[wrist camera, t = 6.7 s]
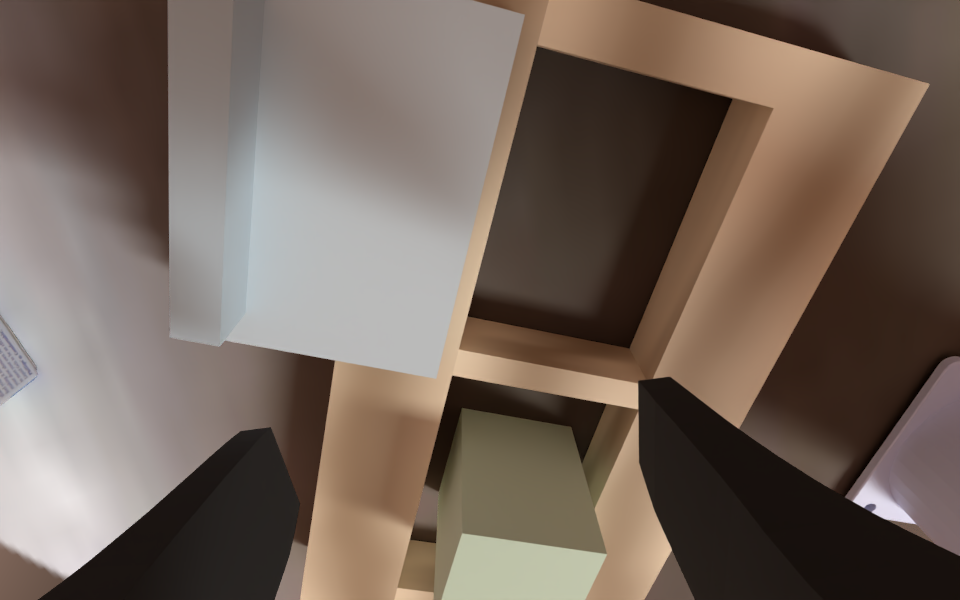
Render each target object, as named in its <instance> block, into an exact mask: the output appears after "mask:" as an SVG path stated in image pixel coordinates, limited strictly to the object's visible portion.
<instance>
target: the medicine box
mask: <svg viewBox="0 0 960 600" xmlns="http://www.w3.org/2000/svg"><path fill="white" fill-rule="evenodd" d="M37 375H38V373H37V367H36V366H35V364H34V363H33V361H32V360H31V358H30V357H29V356H28V354H27V353H26V351H25V350H24V348H23V347H22V345H21V344H20V342H19V341H18V339H17V338H16V336H15V335H14V333H13V332H12V330H11V329H10V328H9V326H8V325H7V323H6V322H5V321H4V319H3V318H2V317H1V315H0V406H1V405H2V404H3V403H5V402H6V401H7V400H9V399H10V398H11V397H12V396H14V395H15V394H16V393H17V392H19V391H20V390H21V389H23V388H24V387H25V386H26V385H28V384H29V383H30V382H31V381H33V380H34V379H35V378H36V377H37Z"/></svg>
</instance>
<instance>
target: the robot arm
mask: <svg viewBox="0 0 960 600" xmlns="http://www.w3.org/2000/svg"><path fill="white" fill-rule="evenodd" d="M638 418H639V464H640V467H641V471H642V474H643V477H644V480H645V483H646V487H647V490H648V493H649V496H650V499H651V502H652V505H653V508H654V511H655V513H656V515H657V518H658V520H659V522H660V524H661V527H662V529H663V531H664V533H665V535H666V538H667V540H668V542H669V544H670V546H671V549H672V551H673V553H674V555H675V557H676V560H677V562H678V564H679V566H680V568H681V570H682V573H683V575H684V577H685V579H686V581H687V583H688V586H689V588H690V590H691V592H692V594H693V596H694V599H695V600H960V357H958V356H952V357H949V358H946V359H944V360H943V361H941V362H940V364H939V365H938V366H937V367H936V369H935V370H934V372H933V373H932V375H931V376H930V377H929V379H928V380H927V382H926V383H925V384H924V386H923V387H922V389H921V390H920V392H919V393H918V394H917V396H916V397H915V399H914V400H913V401H912V403H911V404H910V406H909V407H908V409H907V410H906V411H905V413H904V414H903V416H902V417H901V418H900V420H899V421H898V423H897V424H896V426H895V427H894V428H893V430H892V431H891V433H890V434H889V435H888V437H887V438H886V440H885V441H884V443H883V444H882V445H881V447H880V448H879V450H878V451H877V452H876V454H875V455H874V457H873V458H872V460H871V461H870V462H869V464H868V465H867V467H866V468H865V469H864V471H863V472H862V474H861V475H860V477H859V478H858V479H857V481H856V482H855V484H854V485H853V486H852V488H851V489H850V491H849V492H848V494H847V495H846V496H845V497H844V496H842V495H840V494H838V493H836V492H835V491H833V490H831V489H829V488H828V487H826V486H824V485H823V484H821V483H819V482H818V481H816V480H814V479H813V478H811V477H810V476H808V475H806V474H805V473H803V472H802V471H800V470H799V469H797V468H796V467H794V466H792V465H791V464H789V463H788V462H786V461H785V460H783V459H781V458H780V457H778V456H777V455H775V454H774V453H772V452H771V451H769V450H768V449H767V448H765V447H764V446H762V445H761V444H759V443H758V442H756V441H755V440H754V439H752V438H751V437H749V436H748V435H747V434H745V433H744V432H742V431H741V430H740V429H738V428H737V427H735V426H734V425H733V424H731V423H730V422H729V421H727V420H726V419H725V418H723V417H722V416H721V415H719V414H718V413H717V412H715V411H714V410H713V409H711V408H710V407H709V406H708V405H706V404H705V403H704V402H702V401H701V400H700V399H699V398H697V397H696V396H695V395H693V394H692V393H691V392H689V391H688V390H687V389H686V388H684V387H683V386H682V385H681V384H679V383H678V382H677V381H675V380H674V379H673V378H671V377H663V378H655V379H647V380H640V381H638ZM299 506H300V503H299V500H298V497H297V495H296V492H295V490H294V487H293V484H292V482H291V479H290V476H289V474H288V471H287V469H286V466H285V463H284V461H283V458H282V455H281V453H280V450H279V448H278V445H277V442H276V440H275V437H274V434H273V432H272V429H271V427H270V428H262V429H254V430H246V431H240V432H239V433H238V434H237V435H235V436H234V437H233V438H231V439H230V440H229V441H228V442H227V443H225V444H224V445H223V446H222V447H221V448H220V449H218V450H217V451H216V452H215V453H214V454H213V455H212V456H211V457H209V458H208V459H207V460H206V461H205V462H204V463H203V464H202V465H200V466H199V467H198V468H197V469H196V470H195V471H194V472H193V473H192V474H190V475H189V476H188V477H187V478H186V479H185V480H184V481H183V482H181V483H180V484H179V485H178V486H177V487H176V488H175V489H174V490H172V491H171V492H170V493H169V494H168V495H167V496H166V497H165V498H164V499H162V500H161V501H160V502H159V503H158V504H157V505H156V506H155V507H153V508H152V509H151V510H150V511H149V512H148V513H146V514H145V515H144V516H143V517H142V518H141V519H139V520H138V521H137V522H136V523H135V524H133V525H132V526H131V527H130V528H129V529H127V530H126V531H125V532H124V533H123V534H121V535H120V536H119V537H118V538H117V539H115V540H114V541H113V542H112V543H111V544H109V545H108V546H107V547H106V548H105V549H103V550H102V551H101V552H100V553H99V554H97V555H96V556H95V557H94V558H92V559H91V560H90V561H89V562H87V563H86V564H85V565H84V566H82V567H81V568H80V569H78V570H77V571H76V572H75V573H73V574H72V575H71V576H69V577H68V578H67V579H65V580H64V581H63V582H62V583H60V584H59V585H57V586H56V587H55V588H53V589H52V590H51V591H50V592H48V593H47V594H45V595H44V596H42V597H41V598H40V599H38V600H275V597H276V594H277V591H278V588H279V585H280V582H281V579H282V576H283V573H284V570H285V567H286V564H287V561H288V558H289V555H290V550H291V546H292V542H293V537H294V533H295V527H296V522H297V517H298V512H299ZM885 519H887V520H893V521H900V522H906V523H912V524H917V525H918V526H919V527H920V528H921V529H922V531H923V532H924V533H925V534H926V535H927V536H928V537H929V538H930V539H931V540H932V541H933V542H934V543H935V544H934V543H932V542H930V541H928V540H925V539H923V538H921V537H919V536H917V535H915V534H913V533H911V532H909V531H907V530H905V529H903V528H901V527H899V526H897V525H895V524H893V523H891V522H889V521H887V520H885Z"/></svg>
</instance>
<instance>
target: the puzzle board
mask: <svg viewBox="0 0 960 600" xmlns="http://www.w3.org/2000/svg"><path fill="white" fill-rule="evenodd" d="M473 1H477V2H481V3H484V4H488V5H492V6H495V7H499V8H502V9H506V10H510V11H513V12H517V13H521V14H524V15H525V17H524V21H523V25H522V29H521V33H520V37H519V42H518V46H517V50H516V54H515V58H514V62H513V66H512V70H511V74H510V78H509V83H508V87H507V91H506V95H505V99H504V103H503V107H502V111H501V115H500V120H499V124H498V128H497V132H496V136H495V140H494V144H493V148H492V152H491V156H490V161H489V165H488V169H487V173H486V177H485V181H484V185H483V189H482V193H481V197H480V202H479V206H478V210H477V214H476V218H475V222H474V226H473V230H472V234H471V238H470V243H469V247H468V251H467V255H466V259H465V263H464V267H463V271H462V275H461V279H460V284H459V288H458V292H457V296H456V300H455V304H454V308H453V312H452V316H451V320H450V325H449V329H448V333H447V337H446V341H445V345H444V349H443V353H442V357H441V362H440V366H439V370H438V374H437V378H436V379H435V378H429V377H424V376H418V375H413V374H407V373H402V372H396V371H391V370H385V369H380V368H374V367H368V366H363V365H357V364H352V363H346V362H341V361H335V365H334V372H333V379H332V385H331V392H330V399H329V406H328V413H327V420H326V426H325V433H324V440H323V447H322V454H321V460H320V467H319V474H318V481H317V488H316V495H315V501H314V508H313V515H312V522H311V529H310V536H309V542H308V549H307V556H306V563H305V570H304V577H303V583H302V590H301V597H300V600H433V598H434V578H435V557H436V543H430V542H423V541H416V540H410V537H411V533H412V529H413V525H414V521H415V517H416V514H417V510H418V506H419V502H420V498H421V494H422V490H423V486H424V483H425V479H426V475H427V471H428V467H429V463H430V459H431V455H432V452H433V448H434V444H435V440H436V436H437V432H438V428H439V424H440V421H441V417H442V413H443V409H444V405H445V401H446V397H447V393H448V390H449V386H450V382H451V378H452V375H453V376H458V377H463V378H469V379H474V380H480V381H485V382H491V383H496V384H502V385H507V386H513V387H518V388H524V389H529V390H535V391H540V392H545V393H551V394H556V395H562V396H567V397H573V398H578V399H584V400H589V401H595V402H600V403H606V407H605V409H604V411H603V414H602V416H601V419H600V421H599V424H598V426H597V428H596V431H595V433H594V436H593V438H592V441H591V443H590V445H589V448H588V450H587V453H586V455H585V457H584V460H583V462H582V467H583V470H584V474H585V478H586V481H587V485H588V488H589V492H590V495H591V499H592V502H593V506H594V509H595V513H596V516H597V520H598V523H599V527H600V531H601V534H602V538H603V541H604V545H605V548H606V552H607V556H606V558H605V560H604V562H603V564H602V566H601V568H600V570H599V572H598V574H597V577H596V579H595V581H594V583H593V585H592V587H591V589H590V591H589V593H588V595H587V597H586V599H585V600H644V599H645V597H646V595H647V594H648V592H649V590H650V588H651V586H652V585H653V583H654V581H655V579H656V577H657V576H658V574H659V572H660V570H661V568H662V567H663V565H664V563H665V561H666V559H667V558H668V556H669V554H670V552H671V550H672V549H671V546H670V544H669V542H668V540H667V538H666V535H665V533H664V531H663V529H662V527H661V524H660V522H659V520H658V518H657V515H656V513H655V511H654V508H653V505H652V502H651V499H650V496H649V493H648V490H647V487H646V483H645V480H644V477H643V474H642V471H641V467H640V464H639V418H638V381H640V380H647V379H655V378H663V377H671V378H673V379H674V380H675V381H677V382H678V383H679V384H681V385H682V386H683V387H684V388H686V389H687V390H688V391H689V392H691V393H692V394H693V395H695V396H696V397H697V398H699V399H700V400H701V401H702V402H704V403H705V404H706V405H708V406H709V407H710V408H711V409H713V410H714V411H715V412H717V413H718V414H719V415H721V416H722V417H723V418H725V419H726V420H727V421H729V422H730V423H731V424H733V425H734V426H735V427H737V428H738V429H739V428H740V426H741V424H742V422H743V420H744V419H745V417H746V415H747V413H748V411H749V409H750V408H751V406H752V404H753V402H754V400H755V399H756V397H757V395H758V393H759V391H760V390H761V388H762V386H763V384H764V382H765V381H766V379H767V377H768V375H769V373H770V372H771V370H772V368H773V366H774V364H775V363H776V361H777V359H778V357H779V355H780V354H781V352H782V350H783V348H784V346H785V344H786V343H787V341H788V339H789V337H790V335H791V334H792V332H793V330H794V328H795V326H796V325H797V323H798V321H799V319H800V317H801V316H802V314H803V312H804V310H805V308H806V307H807V305H808V303H809V301H810V299H811V298H812V296H813V294H814V292H815V290H816V288H817V287H818V285H819V283H820V281H821V279H822V278H823V276H824V274H825V272H826V270H827V269H828V267H829V265H830V263H831V261H832V260H833V258H834V256H835V254H836V252H837V251H838V249H839V247H840V245H841V243H842V242H843V240H844V238H845V236H846V234H847V233H848V231H849V229H850V227H851V225H852V223H853V222H854V220H855V218H856V216H857V214H858V213H859V211H860V209H861V207H862V205H863V204H864V202H865V200H866V198H867V196H868V195H869V193H870V191H871V189H872V187H873V186H874V184H875V182H876V180H877V178H878V177H879V175H880V173H881V171H882V169H883V168H884V166H885V164H886V162H887V160H888V158H889V157H890V155H891V153H892V151H893V149H894V148H895V146H896V144H897V142H898V140H899V139H900V137H901V135H902V133H903V131H904V130H905V128H906V126H907V124H908V122H909V121H910V119H911V117H912V115H913V113H914V112H915V110H916V108H917V106H918V104H919V102H920V101H921V99H922V97H923V95H924V93H925V92H926V90H927V88H928V86H929V84H928V83H924V82H921V81H917V80H914V79H910V78H907V77H903V76H900V75H896V74H893V73H889V72H886V71H882V70H879V69H875V68H872V67H868V66H865V65H862V64H858V63H855V62H851V61H848V60H844V59H841V58H837V57H834V56H830V55H827V54H823V53H820V52H816V51H813V50H809V49H806V48H802V47H799V46H795V45H792V44H788V43H785V42H781V41H778V40H774V39H771V38H767V37H764V36H760V35H757V34H753V33H750V32H746V31H743V30H739V29H736V28H732V27H729V26H725V25H722V24H718V23H715V22H712V21H708V20H705V19H701V18H698V17H694V16H691V15H687V14H684V13H680V12H677V11H673V10H670V9H666V8H663V7H659V6H656V5H652V4H649V3H645V2H642V1H638V0H473ZM537 47H541V48H544V49H548V50H552V51H556V52H559V53H563V54H567V55H570V56H574V57H578V58H582V59H585V60H589V61H593V62H597V63H600V64H604V65H608V66H611V67H615V68H619V69H623V70H626V71H630V72H634V73H638V74H641V75H645V76H649V77H652V78H656V79H660V80H664V81H667V82H671V83H675V84H679V85H682V86H686V87H690V88H694V89H697V90H701V91H705V92H708V93H712V94H716V95H720V96H723V97H727V98H731V99H732V102H731V104H730V107H729V109H728V112H727V114H726V116H725V119H724V121H723V124H722V126H721V129H720V131H719V133H718V136H717V138H716V141H715V143H714V145H713V148H712V150H711V153H710V155H709V158H708V160H707V162H706V165H705V167H704V170H703V172H702V174H701V177H700V179H699V182H698V184H697V187H696V189H695V191H694V194H693V196H692V199H691V201H690V203H689V206H688V208H687V211H686V213H685V216H684V218H683V220H682V223H681V225H680V228H679V230H678V233H677V235H676V237H675V240H674V242H673V245H672V247H671V249H670V252H669V254H668V257H667V259H666V262H665V264H664V266H663V269H662V271H661V274H660V276H659V278H658V281H657V283H656V286H655V288H654V291H653V293H652V295H651V298H650V300H649V303H648V305H647V307H646V310H645V312H644V315H643V317H642V320H641V322H640V324H639V327H638V329H637V332H636V334H635V337H634V339H633V341H632V344H631V346H630V349H629V348H624V347H619V346H614V345H609V344H604V343H599V342H594V341H589V340H584V339H579V338H574V337H569V336H564V335H558V334H553V333H548V332H543V331H538V330H533V329H528V328H523V327H518V326H513V325H508V324H503V323H498V322H493V321H488V320H483V319H478V318H473V317H468V312H469V308H470V304H471V300H472V296H473V293H474V289H475V285H476V281H477V277H478V273H479V269H480V265H481V262H482V258H483V254H484V250H485V246H486V242H487V238H488V234H489V231H490V227H491V223H492V219H493V215H494V211H495V207H496V203H497V199H498V196H499V192H500V188H501V184H502V180H503V176H504V172H505V168H506V165H507V161H508V157H509V153H510V149H511V145H512V141H513V137H514V134H515V130H516V126H517V122H518V118H519V114H520V110H521V106H522V103H523V99H524V95H525V91H526V87H527V83H528V79H529V75H530V72H531V68H532V64H533V60H534V56H535V52H536V48H537Z"/></svg>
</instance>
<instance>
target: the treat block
mask: <svg viewBox="0 0 960 600" xmlns="http://www.w3.org/2000/svg"><path fill="white" fill-rule="evenodd" d="M606 556H607V552H606V548H605V545H604V541H603V538H602V534H601V531H600V527H599V523H598V520H597V516H596V513H595V509H594V506H593V502H592V499H591V495H590V492H589V488H588V485H587V481H586V478H585V474H584V470H583V467H582V463H581V460H580V456H579V453H578V449H577V446H576V442H575V439H574V435H573V432H572V428H571V427H568V426H562V425H557V424H551V423H545V422H539V421H534V420H528V419H522V418H517V417H511V416H505V415H499V414H494V413H488V412H482V411H477V410H471V409H465V408H462V409H461V413H460V416H459V420H458V424H457V427H456V431H455V435H454V438H453V442H452V446H451V449H450V453H449V456H448V460H447V464H446V467H445V471H444V475H443V478H442V482H441V486H440V489H439V497H438V517H437V537H436V557H435V578H434V598H433V600H585V599H586V597H587V595H588V593H589V591H590V589H591V587H592V585H593V583H594V581H595V579H596V577H597V574H598V572H599V570H600V568H601V566H602V564H603V562H604V560H605V558H606Z"/></svg>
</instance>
